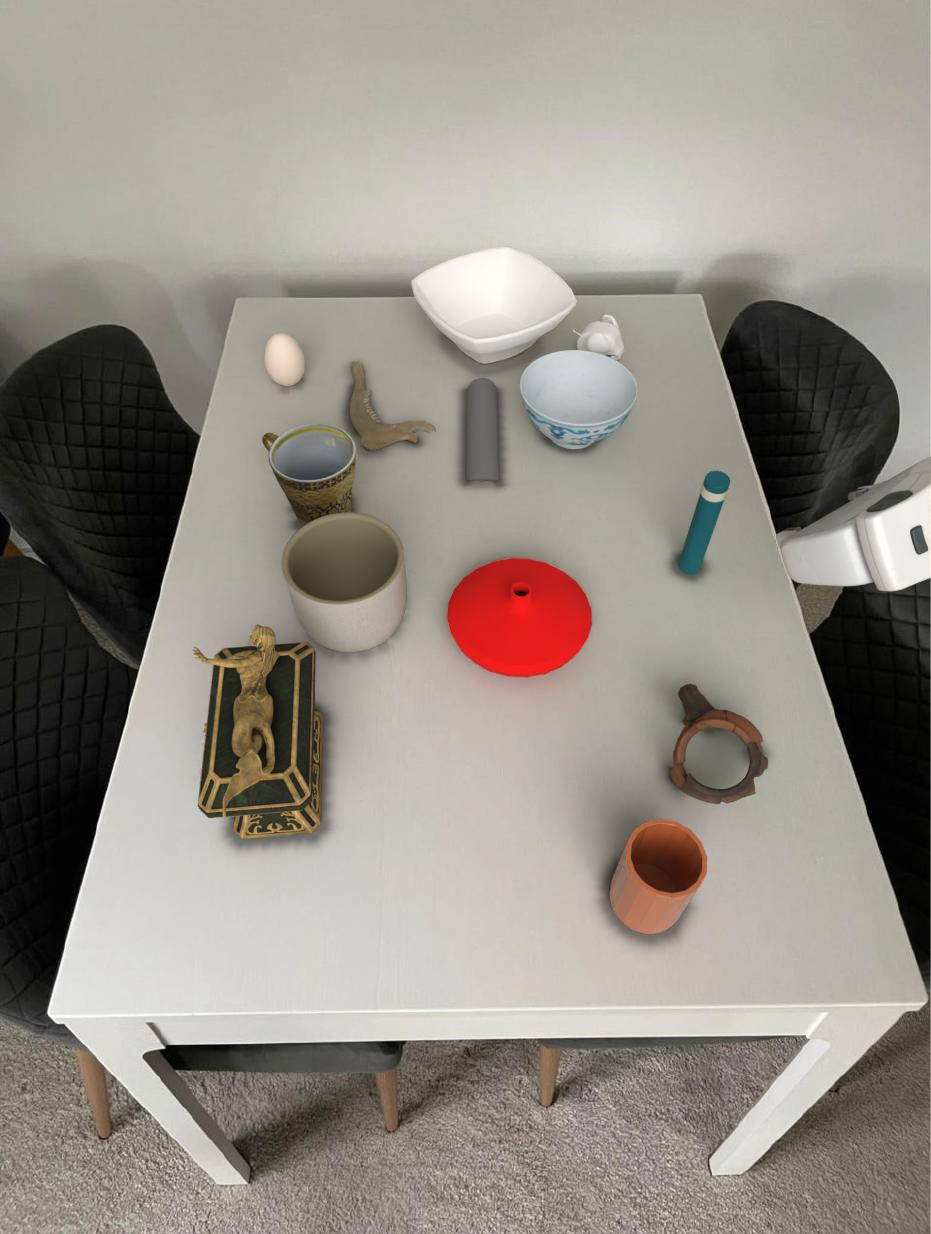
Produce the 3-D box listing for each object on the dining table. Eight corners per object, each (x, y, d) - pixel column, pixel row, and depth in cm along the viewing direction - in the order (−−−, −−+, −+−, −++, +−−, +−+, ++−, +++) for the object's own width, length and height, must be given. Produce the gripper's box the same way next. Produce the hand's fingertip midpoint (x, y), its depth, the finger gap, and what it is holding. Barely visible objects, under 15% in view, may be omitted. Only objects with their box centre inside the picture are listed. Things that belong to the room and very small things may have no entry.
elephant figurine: (614, 379, 118) (620, 343, 113) (562, 365, 120) (566, 329, 115) (629, 353, 121) (635, 317, 116) (578, 339, 123) (582, 304, 118)
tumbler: (693, 887, 74) (720, 846, 66) (662, 948, 71) (686, 913, 63) (629, 849, 76) (648, 805, 68) (596, 907, 73) (612, 868, 65)
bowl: (397, 330, 125) (393, 278, 118) (509, 288, 131) (511, 237, 124) (470, 404, 114) (471, 352, 108) (588, 355, 121) (595, 302, 114)
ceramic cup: (380, 504, 103) (373, 443, 95) (330, 554, 98) (317, 494, 90) (301, 465, 107) (287, 403, 99) (249, 511, 102) (230, 450, 94)
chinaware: (628, 475, 106) (638, 428, 100) (512, 466, 107) (515, 419, 101) (628, 400, 115) (637, 353, 108) (521, 393, 116) (524, 346, 110)
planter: (361, 560, 97) (351, 494, 89) (433, 620, 92) (429, 556, 83) (276, 619, 92) (256, 555, 84) (347, 686, 87) (333, 626, 78)
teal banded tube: (704, 563, 97) (735, 476, 86) (695, 578, 96) (725, 491, 84) (683, 553, 98) (711, 466, 87) (673, 568, 96) (700, 481, 85)
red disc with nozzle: (461, 566, 97) (461, 525, 91) (595, 584, 95) (603, 544, 89) (434, 677, 88) (431, 639, 82) (581, 700, 86) (589, 663, 80)
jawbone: (382, 470, 107) (379, 459, 106) (304, 392, 117) (300, 381, 116) (438, 438, 110) (436, 426, 108) (357, 364, 120) (354, 352, 118)
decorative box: (236, 702, 86) (183, 584, 70) (329, 695, 86) (297, 576, 70) (219, 893, 74) (151, 803, 58) (327, 884, 74) (288, 792, 59)
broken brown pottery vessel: (784, 774, 81) (791, 774, 73) (700, 821, 83) (698, 826, 75) (715, 671, 85) (715, 661, 77) (636, 717, 86) (628, 712, 79)
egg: (271, 372, 119) (260, 323, 113) (309, 370, 119) (300, 322, 113) (268, 396, 116) (256, 348, 109) (307, 394, 116) (298, 346, 109)
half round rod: (465, 485, 105) (465, 475, 103) (467, 388, 116) (467, 377, 115) (499, 485, 105) (499, 475, 103) (497, 388, 116) (497, 377, 115)
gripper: (1029, 422, 67) (885, 445, 80) (855, 525, 60) (729, 531, 73) (1048, 494, 68) (903, 505, 81) (879, 602, 62) (751, 595, 75)
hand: (819, 518), depth 77 cm, fingers open, 8 cm apart
